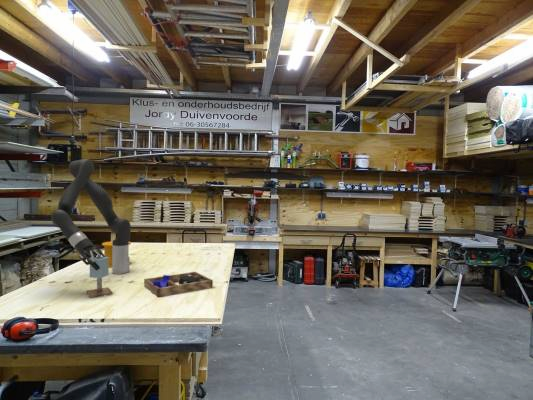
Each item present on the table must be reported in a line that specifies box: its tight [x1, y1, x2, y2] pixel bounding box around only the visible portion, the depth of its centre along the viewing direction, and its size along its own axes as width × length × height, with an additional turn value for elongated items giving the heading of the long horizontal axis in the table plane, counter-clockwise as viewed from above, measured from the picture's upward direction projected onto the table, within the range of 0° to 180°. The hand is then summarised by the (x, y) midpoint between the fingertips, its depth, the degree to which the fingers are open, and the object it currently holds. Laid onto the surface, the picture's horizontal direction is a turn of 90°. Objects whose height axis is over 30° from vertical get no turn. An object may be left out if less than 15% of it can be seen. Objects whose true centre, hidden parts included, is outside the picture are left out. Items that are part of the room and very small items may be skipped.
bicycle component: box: [178, 275, 204, 285], centre depth 188 cm, size 12×7×15 cm
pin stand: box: [85, 277, 114, 299], centre depth 170 cm, size 10×10×8 cm
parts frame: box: [143, 271, 214, 298], centre depth 184 cm, size 30×21×4 cm
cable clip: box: [153, 274, 170, 288], centre depth 178 cm, size 12×4×6 cm, turn 170°
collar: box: [89, 256, 110, 279], centre depth 169 cm, size 6×6×9 cm
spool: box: [101, 240, 132, 269], centre depth 232 cm, size 18×18×15 cm
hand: (102, 267), depth 169 cm, fingers closed on collar, 6 cm apart
